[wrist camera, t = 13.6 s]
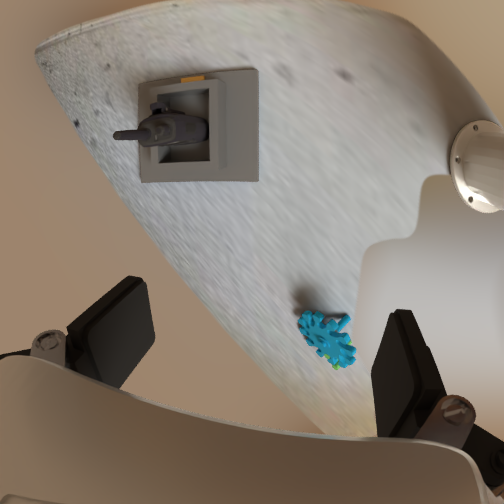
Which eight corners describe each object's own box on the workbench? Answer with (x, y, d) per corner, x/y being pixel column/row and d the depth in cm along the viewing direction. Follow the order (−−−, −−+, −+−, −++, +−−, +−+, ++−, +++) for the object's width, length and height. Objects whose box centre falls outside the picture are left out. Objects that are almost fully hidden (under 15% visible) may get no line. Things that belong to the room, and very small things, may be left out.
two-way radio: (174, 146, 35) (101, 155, 22) (171, 113, 34) (97, 105, 20) (215, 141, 34) (156, 143, 20) (212, 106, 33) (152, 89, 19)
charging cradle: (258, 71, 31) (251, 62, 27) (258, 180, 36) (252, 185, 32) (142, 84, 34) (124, 80, 30) (145, 181, 39) (127, 187, 35)
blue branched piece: (286, 307, 40) (342, 331, 32) (314, 282, 42) (371, 300, 34) (307, 358, 44) (355, 384, 36) (331, 334, 47) (380, 355, 39)
